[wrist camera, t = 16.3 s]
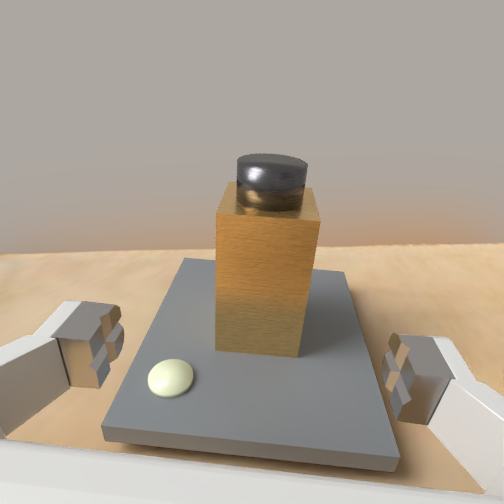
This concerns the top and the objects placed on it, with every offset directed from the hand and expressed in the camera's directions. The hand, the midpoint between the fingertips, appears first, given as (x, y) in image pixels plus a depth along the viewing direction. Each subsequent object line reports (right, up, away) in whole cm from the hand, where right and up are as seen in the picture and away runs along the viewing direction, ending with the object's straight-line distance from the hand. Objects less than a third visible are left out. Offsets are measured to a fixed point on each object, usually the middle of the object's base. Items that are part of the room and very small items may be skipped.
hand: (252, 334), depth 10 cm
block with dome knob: (0, -3, +13) cm, 13 cm away
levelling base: (0, -4, +14) cm, 14 cm away
